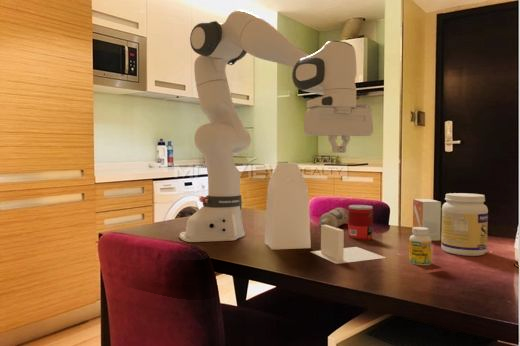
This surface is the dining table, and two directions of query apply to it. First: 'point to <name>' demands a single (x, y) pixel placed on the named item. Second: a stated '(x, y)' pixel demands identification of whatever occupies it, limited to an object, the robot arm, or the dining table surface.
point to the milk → (287, 209)
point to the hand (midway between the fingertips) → (339, 152)
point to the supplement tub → (464, 224)
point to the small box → (427, 216)
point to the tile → (332, 242)
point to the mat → (351, 255)
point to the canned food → (360, 222)
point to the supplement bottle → (420, 246)
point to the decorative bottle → (334, 218)
